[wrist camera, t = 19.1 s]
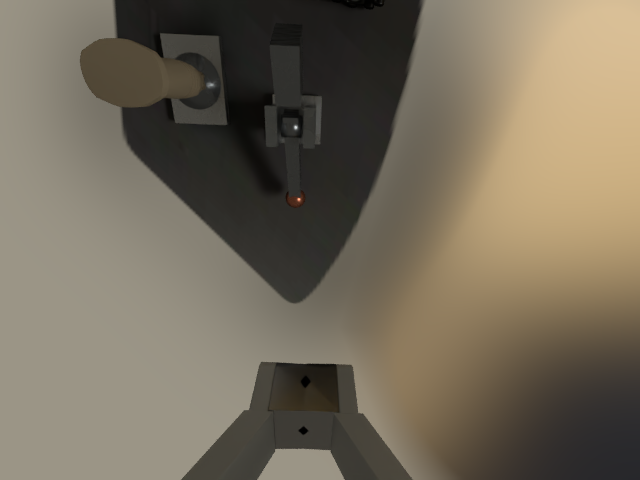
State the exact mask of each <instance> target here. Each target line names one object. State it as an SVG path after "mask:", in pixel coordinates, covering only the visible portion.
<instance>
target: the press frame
mask: <svg viewBox="0 0 640 480" xmlns="http://www.w3.org/2000/svg"><path fill="white" fill-rule="evenodd" d="M160 38H161V43H162V49H163V55H164V58H172V59H176V60H179V61H183V62H185V63H188V64H190V65H191V66H193V67H194V68H196V69H197V70H198V71H200V72H202V73H203V74H204V76H205V77H204V82H205V85H206V88H205V89H204V90H202V91H200V92H199V94H198V95H197V96H193V97H190V98H183V99H171V101H172V107H173V113H174V119H175V123H189V124H212V125H229V124H230V117H229V106H228V95H227V84H226V74H225V63H224V52H223V42H222V38H221V37H219V36H204V35H182V34H161V33H160ZM321 104H322V96H304V95H302V99H301V107H289V106H275V95H274V94H273V104H270V105H266V106H265V130H266V147H278V146H279V144H280V143H285V140H284V137H281V131H280V119H281V114H283V113H284V109H296V110H299V115H302V138H300V144H303V148H313V149H314V148H315V144H320V130H321Z"/></svg>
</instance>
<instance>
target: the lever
mask: <svg viewBox="0 0 640 480" xmlns="http://www.w3.org/2000/svg"><path fill="white" fill-rule="evenodd" d="M270 55H271V65H272V75H273V85H274V95H275V106H289V107H301V99H302V90H303V37H302V25H300V24H279V23H275V27H274V31H273V34H272V38H271V41H270ZM280 131H281V137H284V140H285V152H286V165H287V177H288V190H289V191H288V192H287V194H286V202H287V204H288V205H289V206H291V207H293V208H298V207H300V206H302V205H303V204H304V202H305V194H304V192H303V191H302V190H301V160H300V138H302V115H299V110H296V109H284V113H283V114H281V119H280Z"/></svg>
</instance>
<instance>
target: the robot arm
mask: <svg viewBox="0 0 640 480" xmlns="http://www.w3.org/2000/svg"><path fill="white" fill-rule="evenodd" d="M298 448H299V449H302V448H304V449H320V450H331V453H332V455H333V457H334V459H335V461H336V463H337V465H338V467H339V469H340V471H341V473H342V475H343V477H344V479H345V480H412V478H411V477H410V476H409V474H408V473H407V472H406V470H405V469H404V468H403V466H402V465H401V464H400V462H399V461H398V460H397V458H396V457H395V456H394V454H393V453H392V452H391V450H390V449H389V448H388V446H387V445H386V444H385V442H384V441H383V440H382V438H381V437H380V436H379V434H378V433H377V432H376V430H375V429H374V428H373V426H372V425H371V424H370V422H369V421H368V420H367V418H366V417H365V416H364V414H360V413H358V407H357V399H356V391H355V383H354V373H353V367H352V365H339V364H337V365H336V364H293V363H275V362H261V364H260V366H259V369H258V374H257V378H256V382H255V387H254V391H253V396H252V400H251V404H250V409H249V410H245V411H243V412H242V414H241V415H240V416H239V417H238V418H237V419H236V420H235V421H234V423H232V425H231V426H230V427H229V428H228V429H227V430H226V431H225V432H224V433H223V434H222V435H221V437H220V438H219V439H218V440H217V441H216V442H215V443H214V444H213V445H212V446H211V448H210V449H209V450H208V451H207V452H206V453H205V454H204V455H203V456H202V458H201V459H200V460H199V461H198V462H197V463H196V464H195V465H194V466H193V467H192V469H191V470H190V471H189V472H188V473H187V474H186V475H185V476H184V477H183V478H182V480H257V479H258V477H259V476H260V474H261V473H262V471H263V469H264V468H265V466H266V465H267V463H268V461H269V460H270V458H271V457H272V455H273V454H274V452H275V449H298Z"/></svg>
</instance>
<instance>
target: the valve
mask: <svg viewBox="0 0 640 480" xmlns="http://www.w3.org/2000/svg"><path fill="white" fill-rule="evenodd" d="M332 1H333V2H336V3H340V2H341V1H343V2H346V3H347V6H348V7H351V8H356V7H357V5H362V6H364V8H366V9H370V10H371V9H373V8H374V5H375V6H379V7H382V6H383V5H384V0H332Z"/></svg>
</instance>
